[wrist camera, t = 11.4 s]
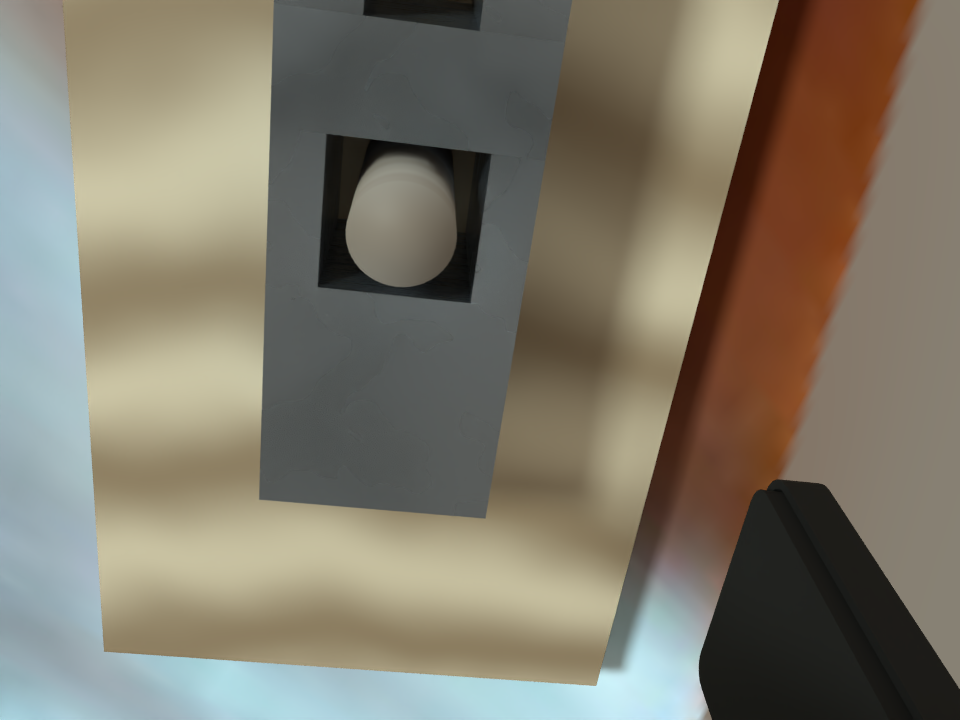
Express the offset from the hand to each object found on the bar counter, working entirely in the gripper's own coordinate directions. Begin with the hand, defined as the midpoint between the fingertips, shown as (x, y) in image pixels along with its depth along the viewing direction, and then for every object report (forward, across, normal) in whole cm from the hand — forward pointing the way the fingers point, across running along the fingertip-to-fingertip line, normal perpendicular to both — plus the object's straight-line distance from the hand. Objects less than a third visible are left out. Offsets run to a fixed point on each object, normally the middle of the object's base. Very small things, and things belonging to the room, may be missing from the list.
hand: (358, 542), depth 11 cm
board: (+18, 0, +5) cm, 19 cm away
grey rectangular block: (+16, 0, 0) cm, 16 cm away
